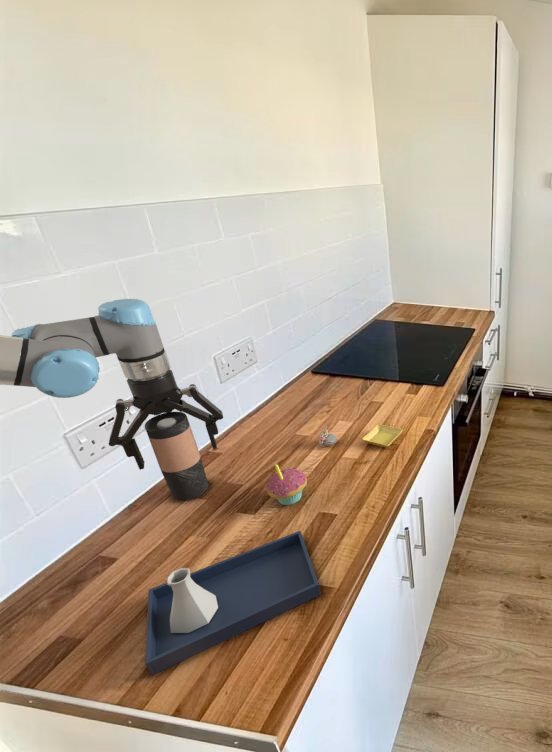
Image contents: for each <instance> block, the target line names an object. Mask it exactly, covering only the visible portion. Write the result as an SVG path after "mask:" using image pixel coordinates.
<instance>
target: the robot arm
mask: <svg viewBox="0 0 552 752" xmlns="http://www.w3.org/2000/svg"><path fill="white" fill-rule="evenodd" d="M97 310H98V313H97V314H98V315H94V316H90V317H83V318H76V319H70V320H63V321H57V322H48V323H36V324H34V325H31V326H26V328H25V327H21V329H20V328H16V329H15V330H13V331H14V332H13V331H12V332H11V335H4V334H3V335H1V334H0V385H2V386H15V387H28V388H29V387H30V388H36V389H37V390H38V391H39V392H41V393H43V394H45V395H47V396H49V397H53V398H58V399H69V398H76V397H79V396H81V395H84V394H86V393H88V392H89V391H91V390H92V389H93V388H94V387H95V386H96V384H97V383H98V380H99V379H100V378H99V376H100V375H99V374H100V364H99V363H100V362H99V361H98V358H100V357H104V356H105V357H106V356H110V355H113V354H115V355H116V358H117V361H118V363H119V365H120V368H121V370H122V373H123V375H124V377H125V379H126V383H127V385H128V388H129V390H130V392H131V396H132V399H125V400H124V399H122V398H118V399H116V401H115V407H114V408H115V412H116V415H115V418H114V420H113V425H112V429H111V432H110V434H109V435H110V436H109V439H108V446H110V447H115V446H120V447H122V448H123V450H124V453H125V455H126V457H127V458H131V457H133V458H134V460H135V462H136V465H137V468H138V469H139V470H144V469H145V460H144V457H143V455H142V453H141V451H140V450H141V449H140V448H139V446H138V443H137V441H136V438H135V435H136V434H137V432H138V431H139V429H141V426H142V425H143V423H144V422H145V421H147V419H148V417H149V416H150V415H152V416H153V417H155V416H157V415H160V414H163V413H168V412H173V411H175V410H176V411H177V412H183V413H185V414H186V415H187V414H188V416H191V417H193V418H196V419H198V420H200V421H202V422H204V424H205V429H206V432H207V434H208V435H207V436H208V438H209V441H210V444H211V447H212V449H213V450H217V449H218V445H217V441H216V438H215V435H218V434H219V428H218V425H217V422H218V421H221V420H223V419H224V414H223V413H224V412H223V411H222V410H221V409H220V408H219V407H217V406H216V405H215V404H214V403H213V402H212V401H210V400H209V399H208V398H207V397H206V396H205V395H203V394H202V393H201V392H200V391H199V389H198V387H197V385H196V384H194V383H193V384H192V383H191V384H189V386H188V387H184V388H180V387H179V386H178V384H177V381H176V378H175V376H174V373H173V370H172V369H171V364H170V361H169V358H168V354H167V351H166V350H165V347H164V344H163V342H162V338H161V334H160V332H159V328H158V325H157V323H156V320H155V317H154V315H153V313H152V310H151V308H150V306H149V304H148V303H147V302H146V301H144V300H142V299H138V298H122V299H114V300H112V301H107V302H104V303H101V304H100V305H99V306H98V308H97ZM183 396H187V397H189V398H192V399H193V400H194V401H195V402H196V403H197V404H199V405H200V406H201V407H202V408H204V409H205V410H206V411H205V410H203V409H201V408H199V407H197V406H195V405H192V404H190V403H189V402H187V401H185V400H184V399H182V398H183ZM131 407H135V408H136V409H138V410H139V411H138V412H137V414H136V416H135V417H134V419H133V420H132V422H131V423H130V425H129V426H128V428H127V429H126V430H125V432H124V434H123V435H121V436H120V433H121V430H122V426H123V423H124V419H125V415H126V412H128V411H130V409H131Z"/></svg>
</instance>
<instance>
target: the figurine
mask: <svg viewBox="0 0 552 752" xmlns="http://www.w3.org/2000/svg"><path fill="white" fill-rule="evenodd" d="M328 429H329V426H328V425H327V424H326V425H325V428H324V429H323V430H322V431H321V433H320V435H319V439H318V443H319V445H320V446H321V447H322V448H325V447H331V446H333V445H335V444H336V443H337V441H338V440H337V436H336V435H335V434H334V433H329V431H328Z"/></svg>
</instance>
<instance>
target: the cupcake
mask: <svg viewBox="0 0 552 752" xmlns="http://www.w3.org/2000/svg"><path fill="white" fill-rule="evenodd" d="M273 465H274V468H275V471H276V472H275V473H274V474H273V475H272V476H270V477H269V479H268V481H267V482H266V485H265V487H266V488H265V489H266V492H267V494H268V496H269V497H271V498H272V499H276V500H277V501H278V502H279V504H281V505H283V506H290V505H291V506H292V505H294V504H296V503H297V502H299V501H300V500H301V498H302V494H303V490H304V489H305V488H306V486H307V485H308V478H307V475H306V474H305V472H304V471H302V470H300V469H297V468H286V469H283V470H281V469H280V467H279V464H276V462H274V464H273Z"/></svg>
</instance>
